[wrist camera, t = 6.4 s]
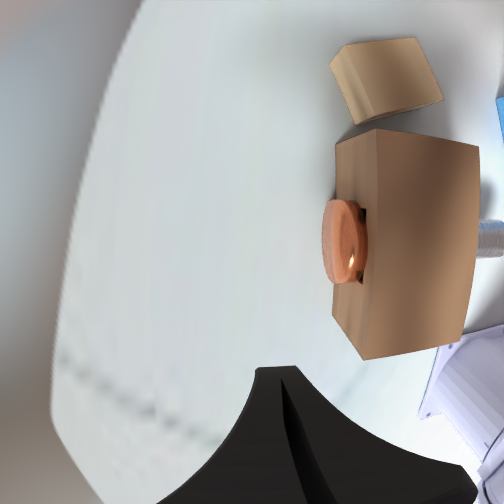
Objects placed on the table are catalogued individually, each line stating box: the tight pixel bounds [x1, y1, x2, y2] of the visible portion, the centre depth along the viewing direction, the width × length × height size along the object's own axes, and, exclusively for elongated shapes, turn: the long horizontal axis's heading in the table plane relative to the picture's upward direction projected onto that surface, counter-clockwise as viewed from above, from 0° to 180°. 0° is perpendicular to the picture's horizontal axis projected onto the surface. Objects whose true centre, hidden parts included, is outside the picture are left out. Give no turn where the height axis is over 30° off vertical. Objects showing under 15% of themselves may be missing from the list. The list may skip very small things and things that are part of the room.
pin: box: [322, 200, 504, 284], centre depth 14 cm, size 12×4×4 cm, turn 91°
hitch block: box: [332, 128, 480, 361], centre depth 14 cm, size 6×10×5 cm, turn 1°
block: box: [329, 38, 444, 125], centre depth 14 cm, size 5×4×3 cm
